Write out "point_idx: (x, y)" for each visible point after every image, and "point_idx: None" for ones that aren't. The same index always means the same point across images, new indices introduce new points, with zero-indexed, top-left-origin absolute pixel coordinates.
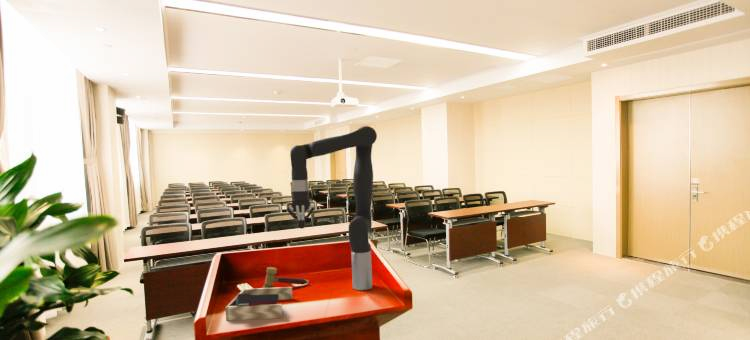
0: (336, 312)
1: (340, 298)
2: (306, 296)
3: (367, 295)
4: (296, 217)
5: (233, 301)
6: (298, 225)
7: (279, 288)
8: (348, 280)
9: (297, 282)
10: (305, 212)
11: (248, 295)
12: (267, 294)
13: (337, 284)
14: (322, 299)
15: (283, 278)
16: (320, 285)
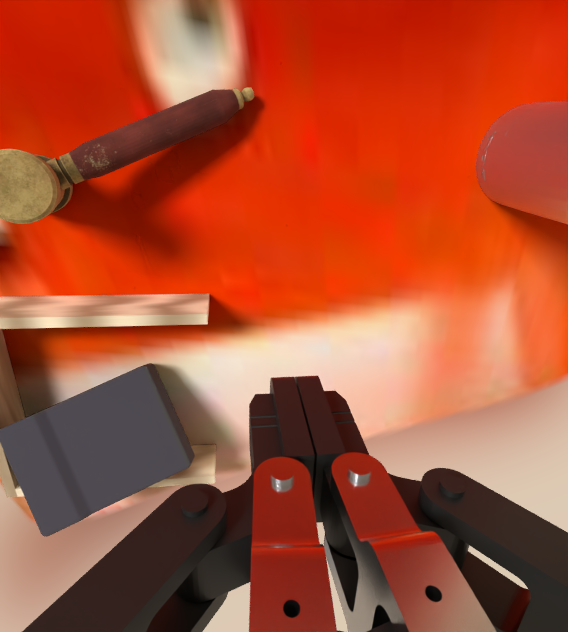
0: (386, 420)
1: (407, 311)
2: (267, 277)
3: (511, 291)
4: (228, 586)
5: (4, 453)
6: (250, 450)
7: (148, 325)
8: (470, 62)
9: (193, 135)
10: (450, 563)
11: (83, 517)
12: (151, 483)
13: (406, 127)
14: (337, 315)
15: (111, 163)
16: (318, 129)
